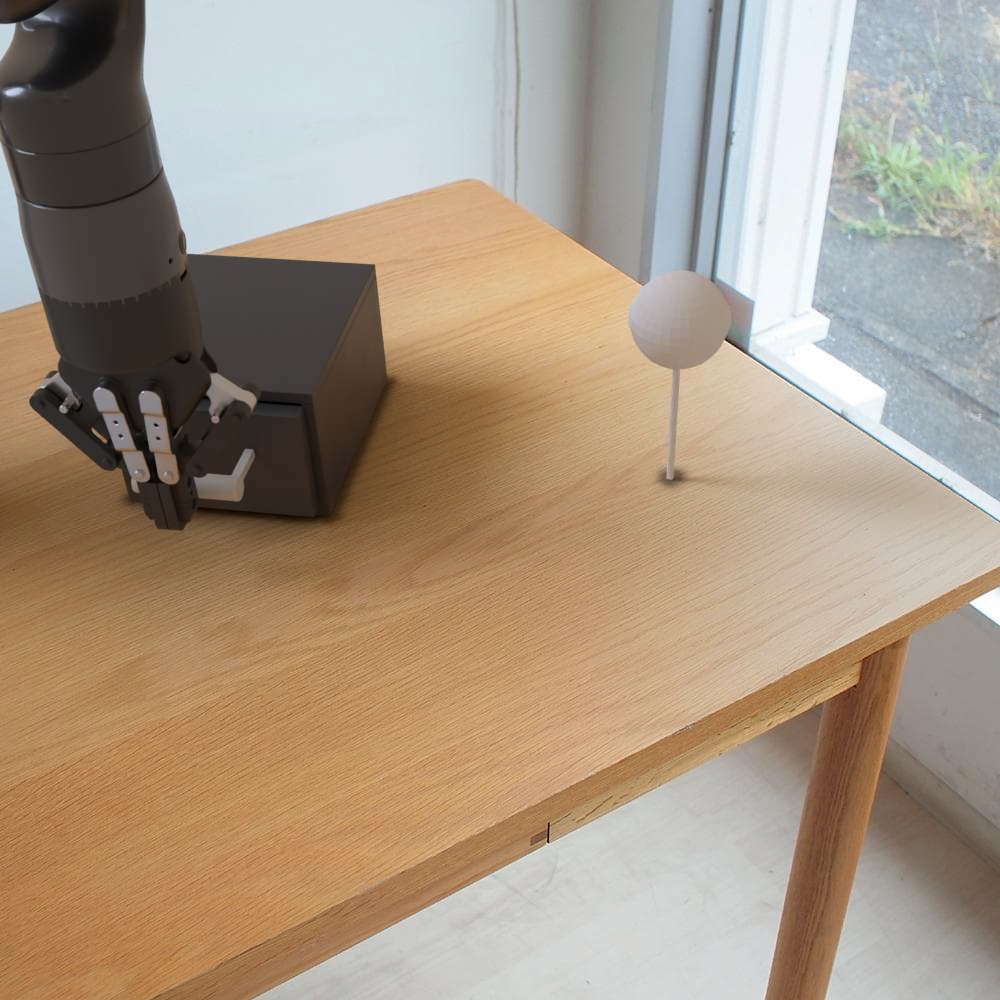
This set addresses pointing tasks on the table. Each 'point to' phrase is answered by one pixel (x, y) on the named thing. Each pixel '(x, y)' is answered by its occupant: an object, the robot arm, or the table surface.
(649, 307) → the lollipop
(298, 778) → the table surface
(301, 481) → the drawer
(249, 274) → the cabinet
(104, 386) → the robot arm
